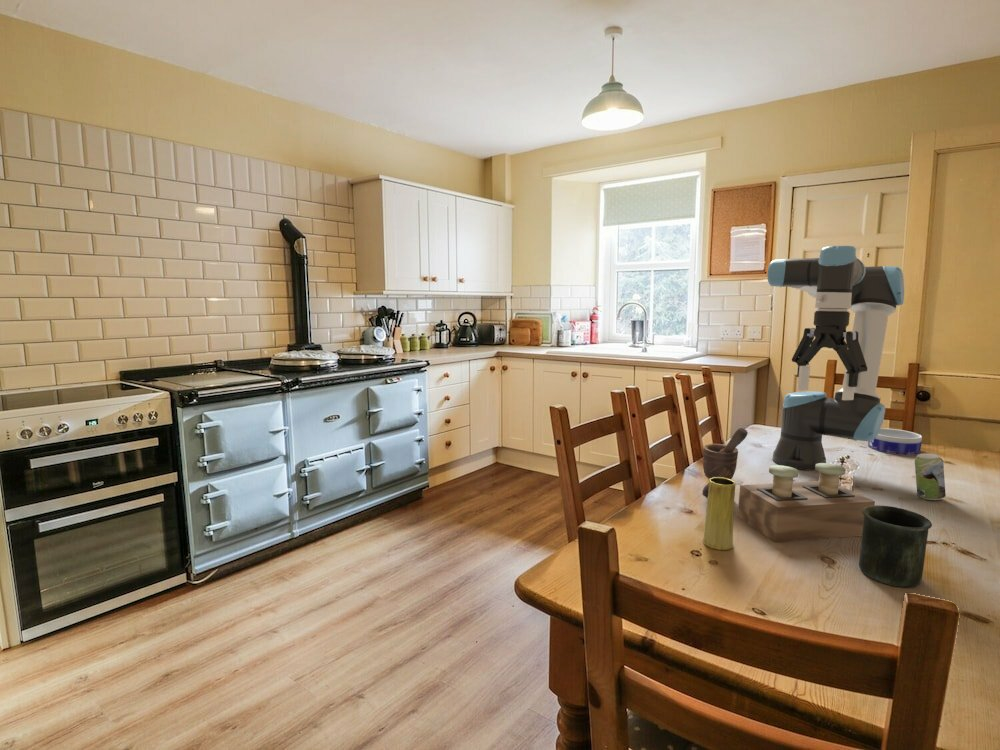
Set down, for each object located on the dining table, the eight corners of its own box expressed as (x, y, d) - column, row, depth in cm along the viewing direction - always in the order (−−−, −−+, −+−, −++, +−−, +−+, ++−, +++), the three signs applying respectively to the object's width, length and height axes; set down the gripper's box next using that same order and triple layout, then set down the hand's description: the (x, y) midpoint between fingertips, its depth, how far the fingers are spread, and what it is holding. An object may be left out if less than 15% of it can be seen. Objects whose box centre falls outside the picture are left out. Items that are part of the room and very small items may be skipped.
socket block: (737, 516, 134) (740, 484, 133) (825, 511, 138) (828, 479, 137) (775, 542, 120) (778, 505, 119) (871, 535, 124) (875, 500, 123)
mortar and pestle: (751, 498, 146) (756, 424, 144) (738, 506, 140) (744, 430, 137) (708, 487, 154) (713, 417, 151) (695, 495, 148) (699, 422, 145)
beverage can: (950, 503, 143) (955, 459, 142) (918, 501, 145) (923, 457, 143) (936, 495, 150) (941, 452, 148) (905, 492, 151) (910, 450, 149)
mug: (854, 578, 105) (860, 518, 103) (858, 550, 117) (864, 496, 115) (925, 596, 99) (933, 533, 97) (922, 564, 111) (929, 508, 109)
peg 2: (806, 495, 132) (809, 463, 130) (828, 494, 133) (832, 462, 131) (825, 505, 126) (828, 471, 125) (848, 503, 127) (851, 470, 126)
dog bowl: (857, 444, 201) (858, 428, 200) (895, 443, 203) (897, 427, 202) (890, 456, 186) (892, 439, 185) (931, 455, 188) (934, 438, 187)
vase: (730, 553, 115) (735, 487, 113) (699, 546, 118) (704, 482, 116) (735, 542, 120) (739, 479, 118) (706, 535, 123) (710, 474, 121)
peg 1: (761, 498, 130) (763, 465, 129) (784, 497, 131) (786, 464, 129) (777, 508, 124) (780, 474, 123) (801, 506, 125) (804, 472, 124)
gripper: (781, 308, 146) (774, 387, 149) (865, 311, 123) (856, 405, 126) (804, 308, 148) (797, 386, 151) (891, 311, 125) (881, 403, 128)
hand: (824, 395), depth 139 cm, fingers open, 13 cm apart
